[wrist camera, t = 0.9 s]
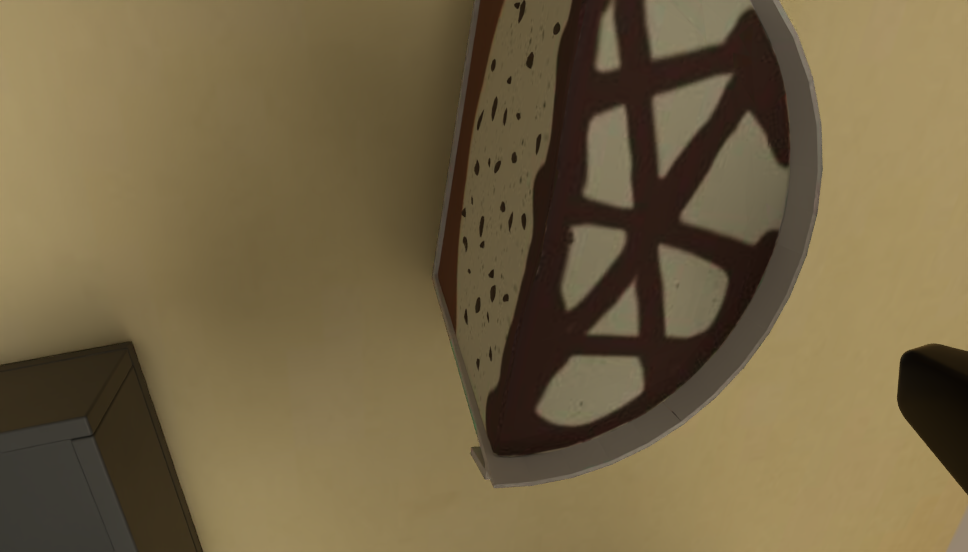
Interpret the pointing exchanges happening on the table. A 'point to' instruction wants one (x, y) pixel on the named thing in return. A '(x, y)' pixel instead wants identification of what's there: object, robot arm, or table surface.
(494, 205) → the food container
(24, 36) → the table surface
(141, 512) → the dark gray square tray
